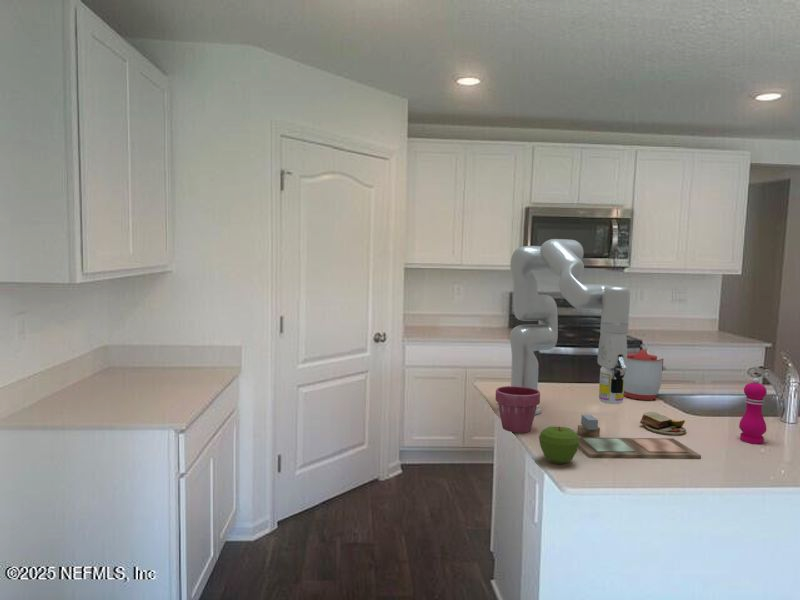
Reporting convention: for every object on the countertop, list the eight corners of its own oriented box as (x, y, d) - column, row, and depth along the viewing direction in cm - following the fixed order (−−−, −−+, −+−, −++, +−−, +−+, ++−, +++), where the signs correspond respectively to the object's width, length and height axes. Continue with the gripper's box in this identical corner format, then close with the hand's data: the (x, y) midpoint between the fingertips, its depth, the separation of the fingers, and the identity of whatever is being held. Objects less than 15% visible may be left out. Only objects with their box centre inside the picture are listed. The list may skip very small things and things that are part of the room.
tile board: (589, 457, 157) (589, 453, 157) (570, 440, 172) (571, 436, 172) (700, 458, 159) (701, 454, 159) (673, 441, 174) (673, 437, 174)
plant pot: (501, 420, 193) (502, 383, 192) (542, 426, 187) (544, 388, 186) (489, 431, 180) (490, 391, 179) (533, 438, 174) (534, 397, 173)
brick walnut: (580, 437, 177) (581, 427, 176) (577, 434, 180) (577, 425, 179) (599, 437, 177) (599, 428, 177) (595, 434, 180) (596, 425, 180)
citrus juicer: (672, 402, 223) (675, 352, 222) (628, 401, 223) (631, 351, 222) (655, 393, 239) (657, 346, 237) (614, 392, 239) (616, 345, 238)
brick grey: (597, 429, 175) (598, 420, 175) (588, 429, 175) (588, 420, 175) (590, 423, 181) (590, 414, 181) (581, 423, 181) (581, 414, 181)
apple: (554, 471, 147) (556, 433, 146) (529, 458, 156) (531, 422, 155) (587, 466, 151) (588, 429, 150) (561, 453, 160) (562, 419, 160)
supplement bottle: (622, 400, 166) (624, 357, 165) (623, 405, 160) (625, 361, 159) (598, 398, 168) (600, 355, 168) (598, 403, 162) (600, 359, 161)
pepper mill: (756, 445, 171) (761, 381, 170) (733, 439, 178) (737, 376, 176) (770, 442, 175) (775, 379, 173) (747, 436, 181) (751, 374, 180)
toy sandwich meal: (667, 438, 178) (668, 423, 177) (633, 426, 190) (634, 413, 189) (694, 434, 183) (695, 419, 183) (659, 422, 195) (660, 409, 195)
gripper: (590, 325, 171) (587, 383, 172) (614, 332, 154) (610, 396, 155) (614, 325, 172) (611, 383, 173) (641, 333, 154) (637, 397, 156)
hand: (611, 389), depth 164 cm, fingers closed on supplement bottle, 6 cm apart
